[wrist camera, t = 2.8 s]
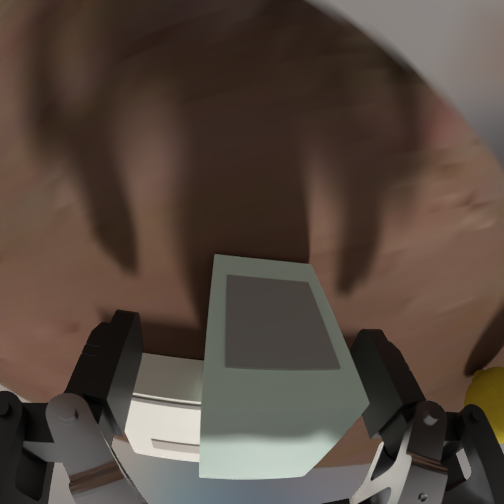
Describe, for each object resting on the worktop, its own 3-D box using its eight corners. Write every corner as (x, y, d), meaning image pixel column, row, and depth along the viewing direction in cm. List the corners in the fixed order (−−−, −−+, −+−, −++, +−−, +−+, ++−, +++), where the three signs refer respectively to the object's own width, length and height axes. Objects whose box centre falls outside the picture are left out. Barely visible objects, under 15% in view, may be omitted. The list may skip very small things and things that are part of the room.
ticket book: (355, 364, 14) (369, 401, 11) (311, 432, 17) (317, 461, 15) (119, 348, 12) (105, 388, 10) (140, 423, 16) (134, 454, 14)
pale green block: (311, 262, 10) (371, 401, 5) (282, 356, 13) (303, 476, 7) (214, 252, 10) (201, 405, 5) (205, 352, 12) (199, 477, 7)
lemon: (461, 395, 19) (493, 458, 12) (441, 389, 17) (479, 466, 10) (503, 354, 17) (543, 415, 10) (491, 340, 15) (540, 414, 8)
